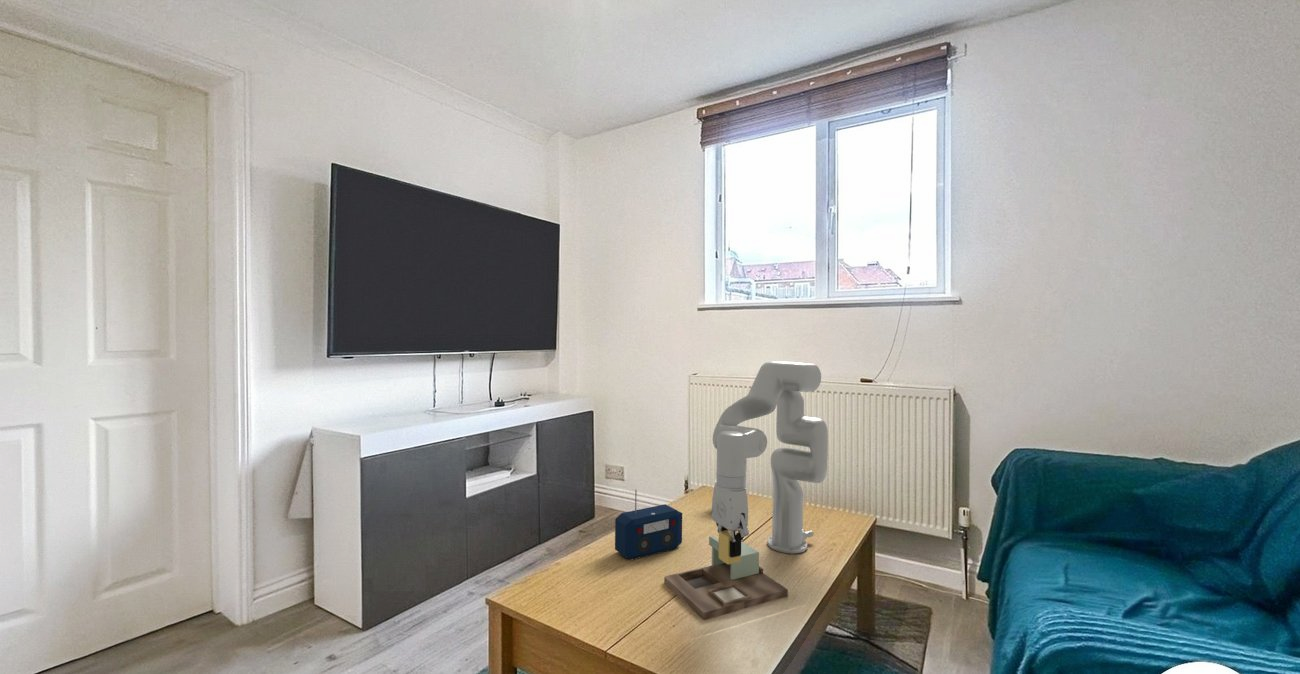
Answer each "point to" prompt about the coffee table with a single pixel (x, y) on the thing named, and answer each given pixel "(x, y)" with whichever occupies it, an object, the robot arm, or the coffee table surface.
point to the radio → (648, 531)
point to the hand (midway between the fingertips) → (729, 551)
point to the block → (726, 547)
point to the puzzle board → (723, 590)
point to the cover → (738, 569)
